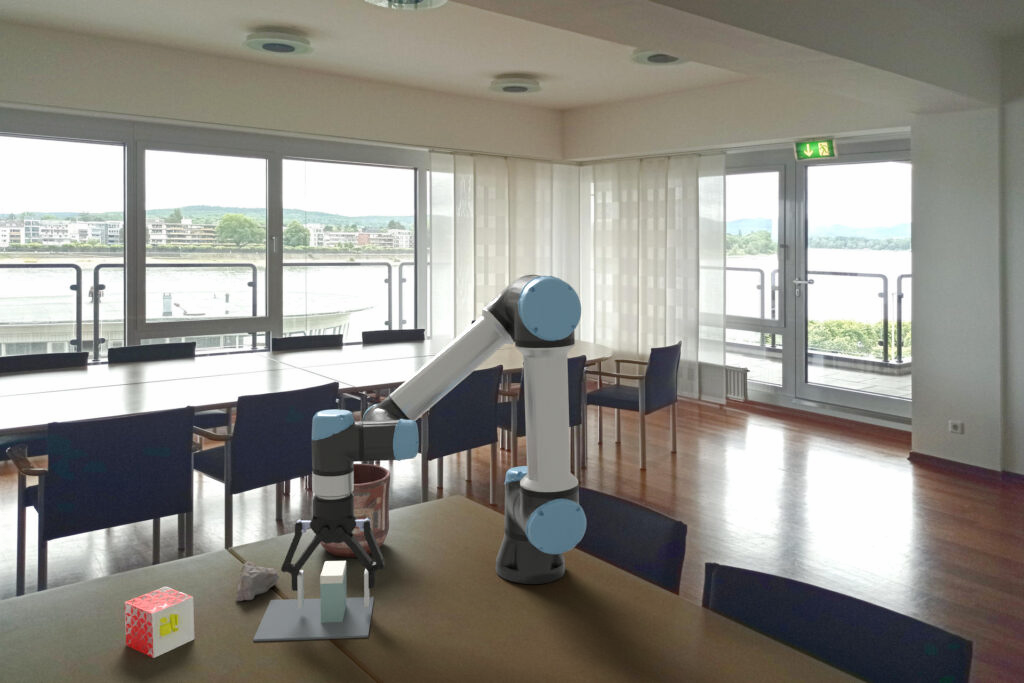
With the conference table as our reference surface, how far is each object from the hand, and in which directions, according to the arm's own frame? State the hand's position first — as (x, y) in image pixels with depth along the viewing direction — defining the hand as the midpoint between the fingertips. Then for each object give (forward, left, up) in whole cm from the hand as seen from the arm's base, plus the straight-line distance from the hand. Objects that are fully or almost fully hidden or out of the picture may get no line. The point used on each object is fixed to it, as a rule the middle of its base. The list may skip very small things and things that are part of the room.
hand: (334, 605), depth 150 cm
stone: (+17, -12, -2) cm, 21 cm away
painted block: (0, 0, -2) cm, 2 cm away
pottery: (0, -35, -2) cm, 35 cm away
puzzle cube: (+29, +8, -2) cm, 30 cm away
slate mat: (+3, +1, -2) cm, 4 cm away
